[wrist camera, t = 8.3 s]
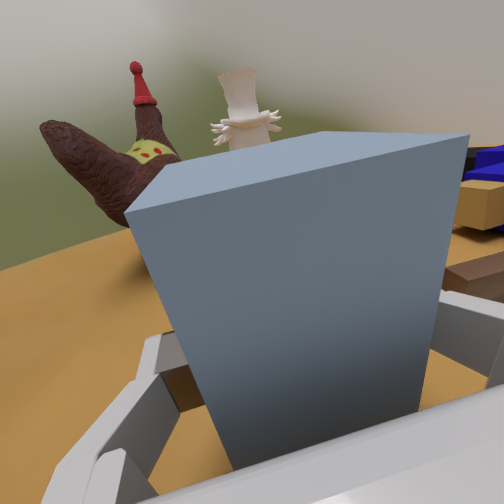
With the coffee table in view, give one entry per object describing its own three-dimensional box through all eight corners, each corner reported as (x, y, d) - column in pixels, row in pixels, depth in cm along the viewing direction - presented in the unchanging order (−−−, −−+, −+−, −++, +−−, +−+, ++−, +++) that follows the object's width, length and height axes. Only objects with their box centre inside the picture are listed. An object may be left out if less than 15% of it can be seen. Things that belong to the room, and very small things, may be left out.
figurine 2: (279, 195, 46) (262, 73, 37) (301, 204, 39) (288, 59, 31) (223, 211, 43) (192, 85, 35) (237, 224, 36) (203, 72, 28)
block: (401, 498, 9) (470, 133, 4) (266, 545, 9) (124, 212, 3) (335, 378, 14) (322, 131, 8) (243, 406, 13) (166, 165, 8)
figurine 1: (221, 225, 37) (179, 56, 28) (199, 285, 24) (106, 5, 15) (151, 236, 38) (88, 78, 29) (94, 298, 25) (-50, 49, 16)
